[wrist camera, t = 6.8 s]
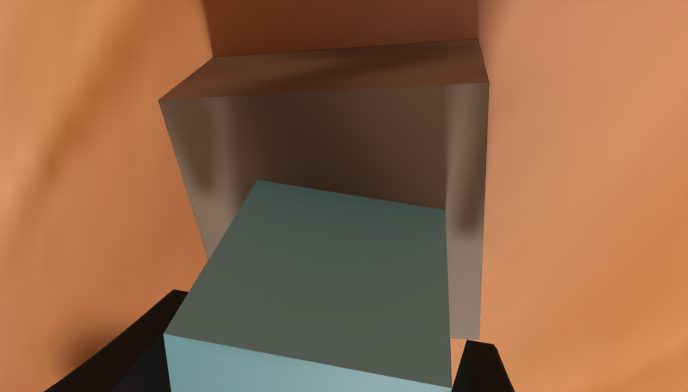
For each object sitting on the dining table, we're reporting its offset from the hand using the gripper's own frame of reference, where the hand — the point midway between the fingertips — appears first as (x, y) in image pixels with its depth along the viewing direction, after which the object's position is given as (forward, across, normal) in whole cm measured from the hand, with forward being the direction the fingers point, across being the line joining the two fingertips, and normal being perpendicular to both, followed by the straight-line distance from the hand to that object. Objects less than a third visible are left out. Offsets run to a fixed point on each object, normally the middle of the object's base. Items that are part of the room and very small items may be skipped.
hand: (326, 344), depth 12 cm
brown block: (+7, 0, -1) cm, 7 cm away
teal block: (+3, 0, 0) cm, 3 cm away
